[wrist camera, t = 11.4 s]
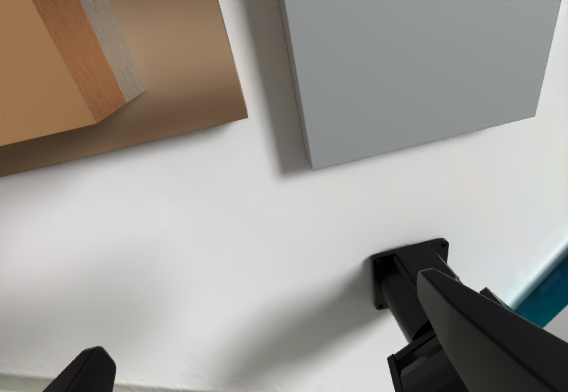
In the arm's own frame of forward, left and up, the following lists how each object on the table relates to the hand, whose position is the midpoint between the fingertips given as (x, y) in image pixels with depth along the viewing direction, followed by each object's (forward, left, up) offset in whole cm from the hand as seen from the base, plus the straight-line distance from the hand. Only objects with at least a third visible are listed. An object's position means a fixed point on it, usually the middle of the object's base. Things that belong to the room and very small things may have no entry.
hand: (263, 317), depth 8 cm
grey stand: (+6, -11, -13) cm, 17 cm away
